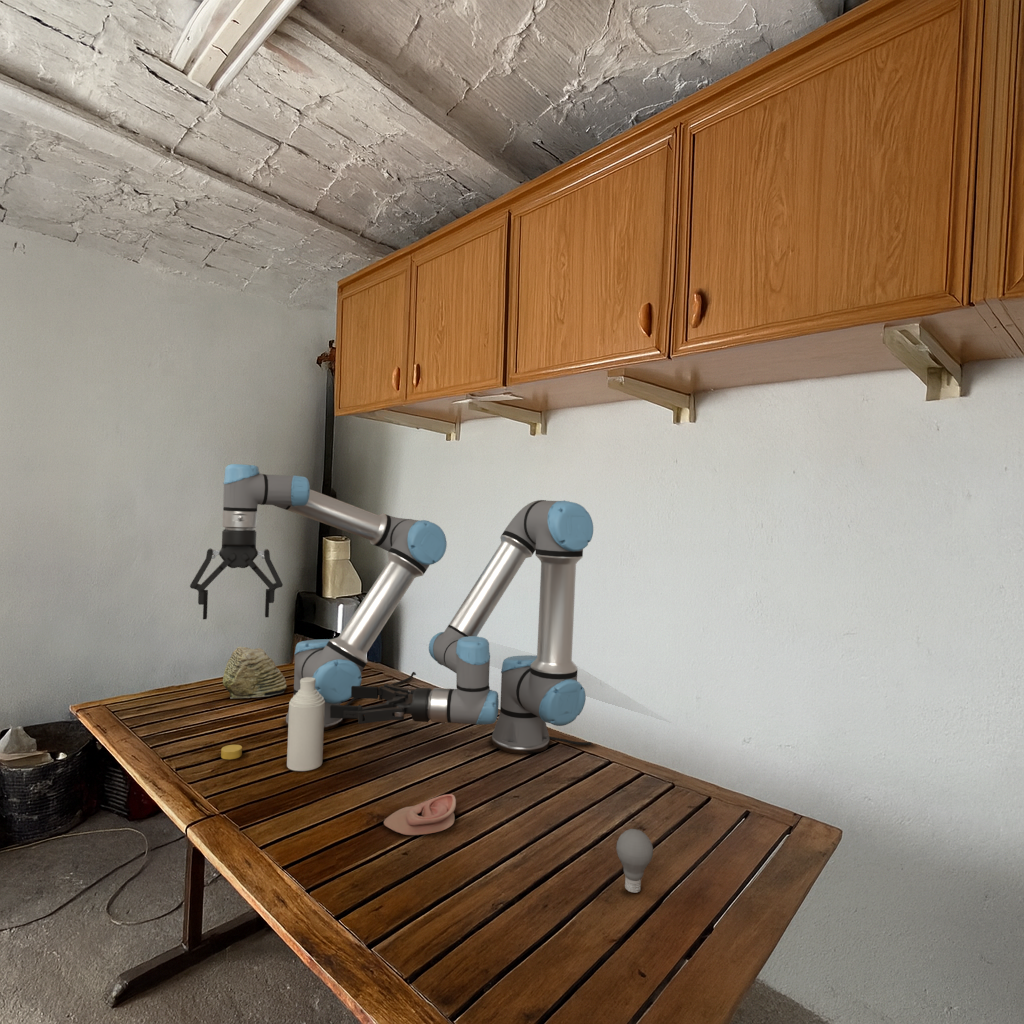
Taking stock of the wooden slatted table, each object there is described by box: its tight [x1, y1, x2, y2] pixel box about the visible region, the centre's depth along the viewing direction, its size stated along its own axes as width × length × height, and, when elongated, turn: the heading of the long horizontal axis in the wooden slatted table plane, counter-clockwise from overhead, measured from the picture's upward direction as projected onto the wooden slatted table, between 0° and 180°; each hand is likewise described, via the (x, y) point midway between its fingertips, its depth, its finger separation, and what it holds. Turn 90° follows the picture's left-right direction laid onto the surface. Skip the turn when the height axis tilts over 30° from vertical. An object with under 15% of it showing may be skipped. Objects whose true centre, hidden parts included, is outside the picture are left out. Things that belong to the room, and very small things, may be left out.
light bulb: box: [615, 828, 654, 894], centre depth 106 cm, size 6×6×10 cm
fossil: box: [222, 646, 288, 699], centre depth 198 cm, size 9×18×15 cm, turn 132°
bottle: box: [286, 677, 325, 772], centre depth 149 cm, size 8×8×20 cm
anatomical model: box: [383, 793, 457, 836], centre depth 125 cm, size 13×4×12 cm
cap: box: [220, 744, 243, 760], centre depth 152 cm, size 5×5×2 cm
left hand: (236, 617), depth 152 cm, fingers open, 13 cm apart
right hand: (341, 701), depth 148 cm, fingers open, 13 cm apart
